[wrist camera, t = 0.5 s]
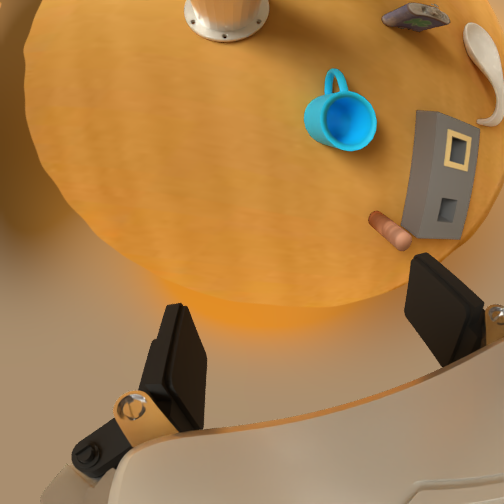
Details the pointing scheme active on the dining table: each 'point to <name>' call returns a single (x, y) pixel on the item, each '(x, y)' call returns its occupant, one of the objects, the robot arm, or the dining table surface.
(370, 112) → the mug
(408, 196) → the bore block
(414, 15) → the flask
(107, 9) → the dining table surface
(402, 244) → the pin
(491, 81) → the spoon rest
